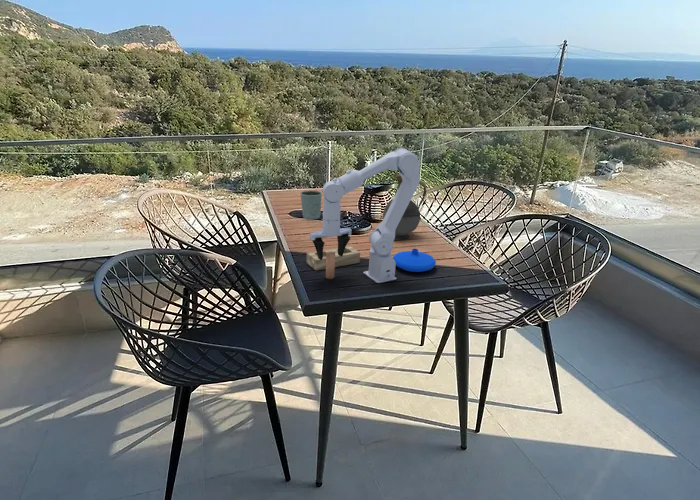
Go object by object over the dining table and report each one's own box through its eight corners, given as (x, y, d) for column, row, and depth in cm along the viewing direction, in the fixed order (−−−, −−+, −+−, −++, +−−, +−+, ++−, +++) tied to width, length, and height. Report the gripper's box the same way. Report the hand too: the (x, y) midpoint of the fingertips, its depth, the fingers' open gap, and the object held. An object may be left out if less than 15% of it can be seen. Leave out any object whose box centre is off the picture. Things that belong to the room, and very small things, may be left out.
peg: (335, 278, 154) (336, 253, 151) (328, 279, 153) (328, 255, 150) (331, 274, 157) (332, 250, 153) (324, 276, 155) (324, 252, 152)
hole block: (359, 262, 168) (360, 252, 166) (315, 270, 159) (316, 260, 158) (349, 255, 174) (349, 245, 173) (306, 262, 166) (306, 252, 164)
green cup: (320, 220, 215) (320, 195, 211) (299, 219, 215) (299, 194, 211) (322, 214, 225) (322, 190, 220) (301, 213, 225) (301, 189, 220)
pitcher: (378, 234, 199) (382, 166, 188) (415, 230, 206) (422, 165, 195) (389, 242, 190) (394, 171, 179) (428, 238, 197) (435, 169, 186)
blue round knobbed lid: (401, 278, 157) (403, 259, 154) (385, 261, 171) (387, 243, 168) (442, 274, 161) (444, 256, 158) (423, 258, 175) (425, 241, 172)
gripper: (345, 212, 154) (343, 250, 159) (306, 217, 147) (305, 256, 152) (355, 218, 148) (353, 256, 153) (315, 223, 141) (314, 263, 146)
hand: (330, 257), depth 152 cm, fingers open, 7 cm apart
